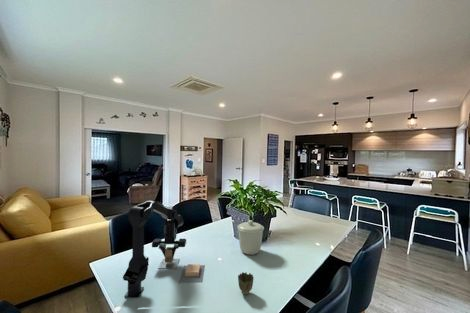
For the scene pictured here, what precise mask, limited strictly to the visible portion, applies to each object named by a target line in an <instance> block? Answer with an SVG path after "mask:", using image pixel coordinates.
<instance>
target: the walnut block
mask: <svg viewBox="0 0 470 313" xmlns="http://www.w3.org/2000/svg"><path fill="white" fill-rule="evenodd" d="M173 247H174V246H171V247H170V246H166V250H165V257H164V259H165V262H172V261H173V259H175V256H174V257H172V254H173Z"/></svg>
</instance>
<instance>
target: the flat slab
mask: <svg viewBox="0 0 470 313" xmlns="http://www.w3.org/2000/svg"><path fill="white" fill-rule="evenodd" d="M200 265H201V264H200V263H198V264H197V263H196V264H193V263H192V264H190V263H189V264H187V265H186V266H187V269H186V272H185V277H188V276H199V271H200Z"/></svg>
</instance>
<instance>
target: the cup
mask: <svg viewBox="0 0 470 313" xmlns="http://www.w3.org/2000/svg"><path fill="white" fill-rule="evenodd" d="M254 278H255V277H254V275H253V273H252V274H251V272H250V273H247V272H244V271H243V272H241V273H239V274H238V276H237V282H238V288H239V290H240V292H241V293H242V295H244V296H248V295H250V292H251V290H252V289H253V284H254Z"/></svg>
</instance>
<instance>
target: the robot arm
mask: <svg viewBox="0 0 470 313" xmlns="http://www.w3.org/2000/svg"><path fill="white" fill-rule="evenodd" d="M153 212H154V213H157V214H159V215H160V216H161V218H163V219H165V220H164V222H162V226H164V234H163V236H164V239H162V238H154V240H153V241H152V242H151V247H152V248H158V249H159V250H160V251H161V252H162V254H163V256H164V258H165V250H166V248H167V245H173V246H172V247H173V254H172V257H174V258H175V254H176V251H177V249H179V248H184V247H185V248H186V246H187V239H186V238H179V240H177V235H178V234H177V232H176V229H177V228H179V227H181V226H183V224H184V223H185V222H184V218H183V217H182V215H181V214H178V210H176V209H172V208H167V207H166V206H164V205H162V204H159V203H158V202H157V201H156V200H146V201H145V202H142V203H138V204H137V205H135V206H132V207H131V208H130V209H129V211H128V214H127V215H128V220H129V223H130V225H131V226H132V246H131V248H132V251H131V252H132V256H131V258H130V260H129V261H128V267H127V269H126V271H125V272H124V274H123V276H122V279H123V281H124V282H125V281H126V282H127V292H126V293H125V295H124V298H139V297H140V296H141V294H142V293H143V291H144V290H145V287H144V286H142V282H143V281H145V280H146V279H147V278H146V277H147V274H148V269H149V257H148V256H145V225H146V224H147V221H148V219H149V218H148V217H149V216H150V215H152V214H153Z"/></svg>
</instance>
